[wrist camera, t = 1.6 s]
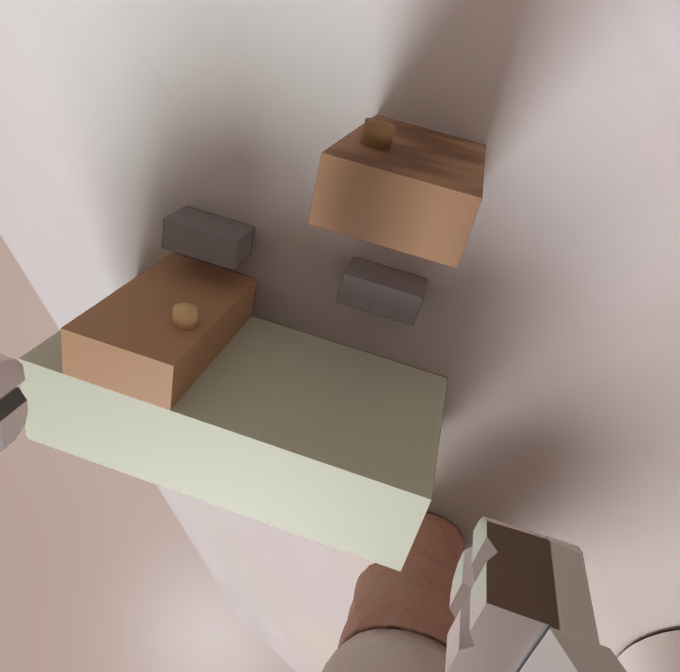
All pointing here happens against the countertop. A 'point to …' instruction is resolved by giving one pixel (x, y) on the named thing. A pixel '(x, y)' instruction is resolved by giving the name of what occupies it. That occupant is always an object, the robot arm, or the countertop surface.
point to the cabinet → (246, 397)
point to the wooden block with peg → (401, 189)
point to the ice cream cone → (403, 608)
